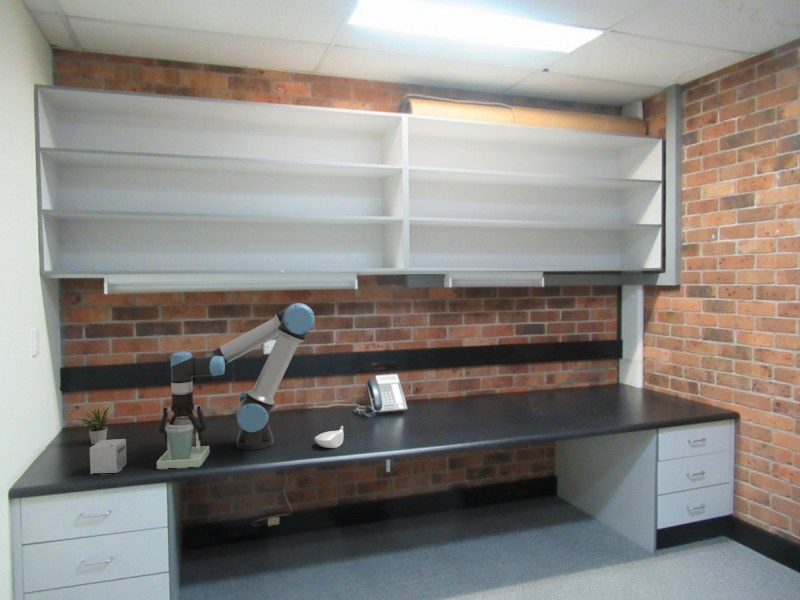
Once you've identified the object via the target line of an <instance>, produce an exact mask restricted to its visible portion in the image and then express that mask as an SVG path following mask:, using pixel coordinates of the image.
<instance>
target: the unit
mask: <svg viewBox="0 0 800 600" xmlns="http://www.w3.org/2000/svg"><path fill="white" fill-rule="evenodd" d="M89 463H90V464H89V465H90V469H89V470H90V475H91V474H93V473H117V472H118V473H119V472H121V471H122V470H123V469H124V468H125V467H126V466H127V465H128V463H127V439H126V438H120V439H119V438H117V439H116V438H115V439H106V440H100V441H99V442H97V443H96V444H95V445H91V447H89ZM126 464H127V465H126ZM125 465H126V466H125ZM124 466H125V467H124ZM123 467H124V468H123ZM122 468H123V469H122ZM118 473H117V474H118Z"/></svg>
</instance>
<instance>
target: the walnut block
mask: <svg viewBox="0 0 800 600" xmlns="http://www.w3.org/2000/svg"><path fill="white" fill-rule="evenodd" d="M192 447H196V435H195V434H193V441H192Z"/></svg>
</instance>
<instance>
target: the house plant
mask: <svg viewBox="0 0 800 600" xmlns="http://www.w3.org/2000/svg"><path fill="white" fill-rule="evenodd" d="M111 407H113V405H109V406H107V407H106V406H105V407H104V408H103V409H101V413H100V407H98V406H97V409H96V408H95V406H94V407H93V406H92V408H93V410H91V409H89V411H90V412H91V413H92V414H91V413H90V412H88V411H87V412H86V411H84V412H83V415H86V416H87V417H88V418H90V419H91V420H89V419H86V418H77V420H79V421H81V422H83V423H81V424H80V427H81V426H83V425H88V426H89V427H91V428H89V429H88V434H89V438H90V443H91V445H92V444H96V443H97V442H99V441H100V440H107V435H108V434H107V433H108V427H107V426H105V424H107V423H108V422H110V420H111V418H109V417H108V414H109V413H110V411H111ZM78 412H79V413H80V411H78ZM93 415H94V416H93ZM108 419H109V420H108Z"/></svg>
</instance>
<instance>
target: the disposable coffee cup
mask: <svg viewBox="0 0 800 600" xmlns="http://www.w3.org/2000/svg"><path fill="white" fill-rule="evenodd" d="M170 421H171V420H169V421H167V422H166V425H165V430H166V433H167V437H168V442H169V447H170V452H171V457H172V460H185V459H189V458H190V456H191V449H192V441H193V435H194V432H195V426H194V425H193V423H192V422H191V420H190V419H182V418H181V419H176V420H175V422H174V423H173V424H172V425H170V424H169V423H170Z"/></svg>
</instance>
